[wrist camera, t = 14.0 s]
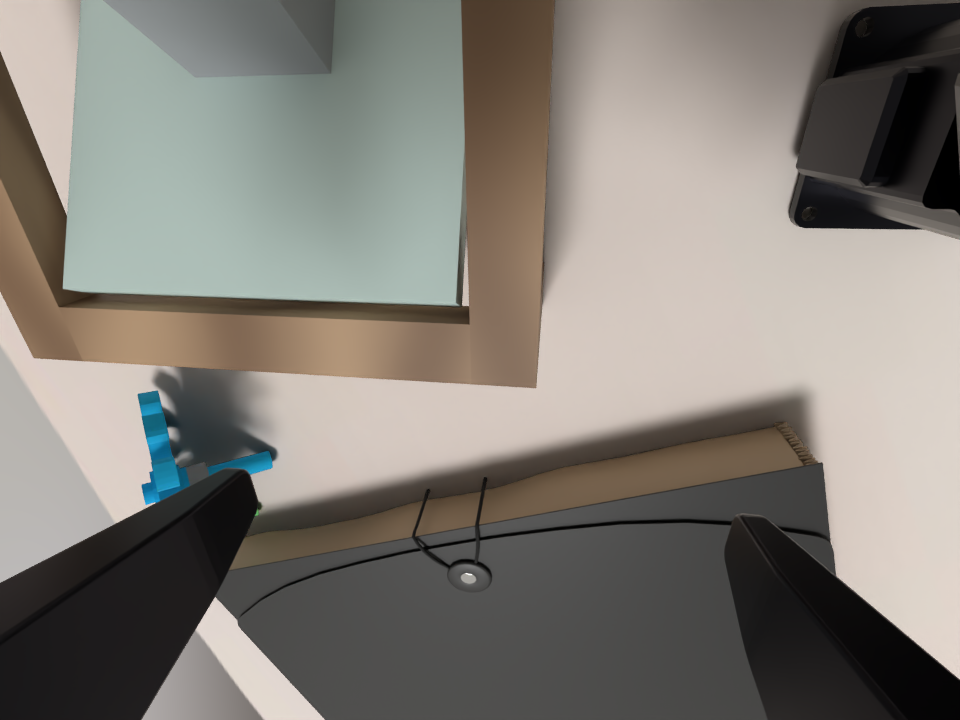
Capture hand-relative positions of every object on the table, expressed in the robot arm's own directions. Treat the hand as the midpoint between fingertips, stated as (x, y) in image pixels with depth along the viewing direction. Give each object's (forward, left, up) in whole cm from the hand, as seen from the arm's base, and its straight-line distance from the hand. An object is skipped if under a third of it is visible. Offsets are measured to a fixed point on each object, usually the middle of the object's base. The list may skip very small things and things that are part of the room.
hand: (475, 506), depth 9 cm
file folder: (-1, +23, -14) cm, 27 cm away
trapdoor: (+8, -7, -10) cm, 15 cm away
